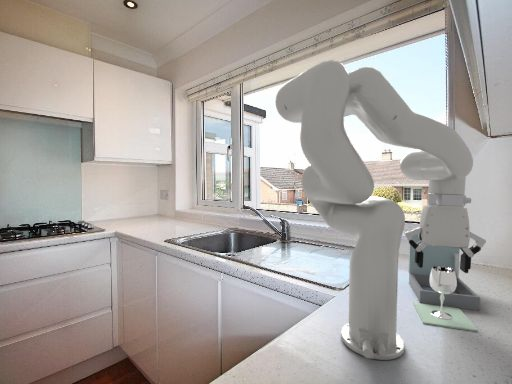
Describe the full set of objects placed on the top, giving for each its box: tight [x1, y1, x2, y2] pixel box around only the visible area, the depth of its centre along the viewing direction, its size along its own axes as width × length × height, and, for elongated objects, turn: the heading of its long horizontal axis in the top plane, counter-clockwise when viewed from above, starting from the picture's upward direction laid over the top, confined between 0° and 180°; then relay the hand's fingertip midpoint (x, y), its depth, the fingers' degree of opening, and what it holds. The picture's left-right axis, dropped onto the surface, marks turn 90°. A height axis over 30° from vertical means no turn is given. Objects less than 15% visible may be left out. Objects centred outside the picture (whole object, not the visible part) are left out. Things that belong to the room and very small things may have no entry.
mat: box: [412, 302, 478, 333], centre depth 70 cm, size 11×11×1 cm
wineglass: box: [429, 266, 457, 319], centre depth 69 cm, size 6×6×12 cm
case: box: [408, 227, 481, 311], centre depth 82 cm, size 16×14×18 cm
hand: (441, 268), depth 69 cm, fingers open, 9 cm apart
